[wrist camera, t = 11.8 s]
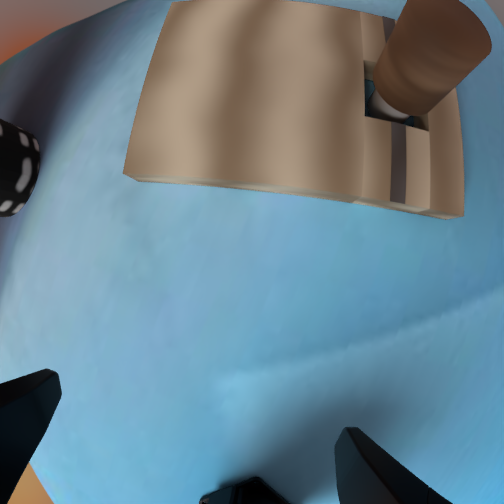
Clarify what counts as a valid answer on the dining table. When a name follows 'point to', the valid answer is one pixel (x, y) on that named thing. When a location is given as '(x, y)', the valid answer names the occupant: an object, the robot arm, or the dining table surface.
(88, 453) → the dining table surface
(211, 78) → the board
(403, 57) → the brown wooden peg
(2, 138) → the spotted tube
